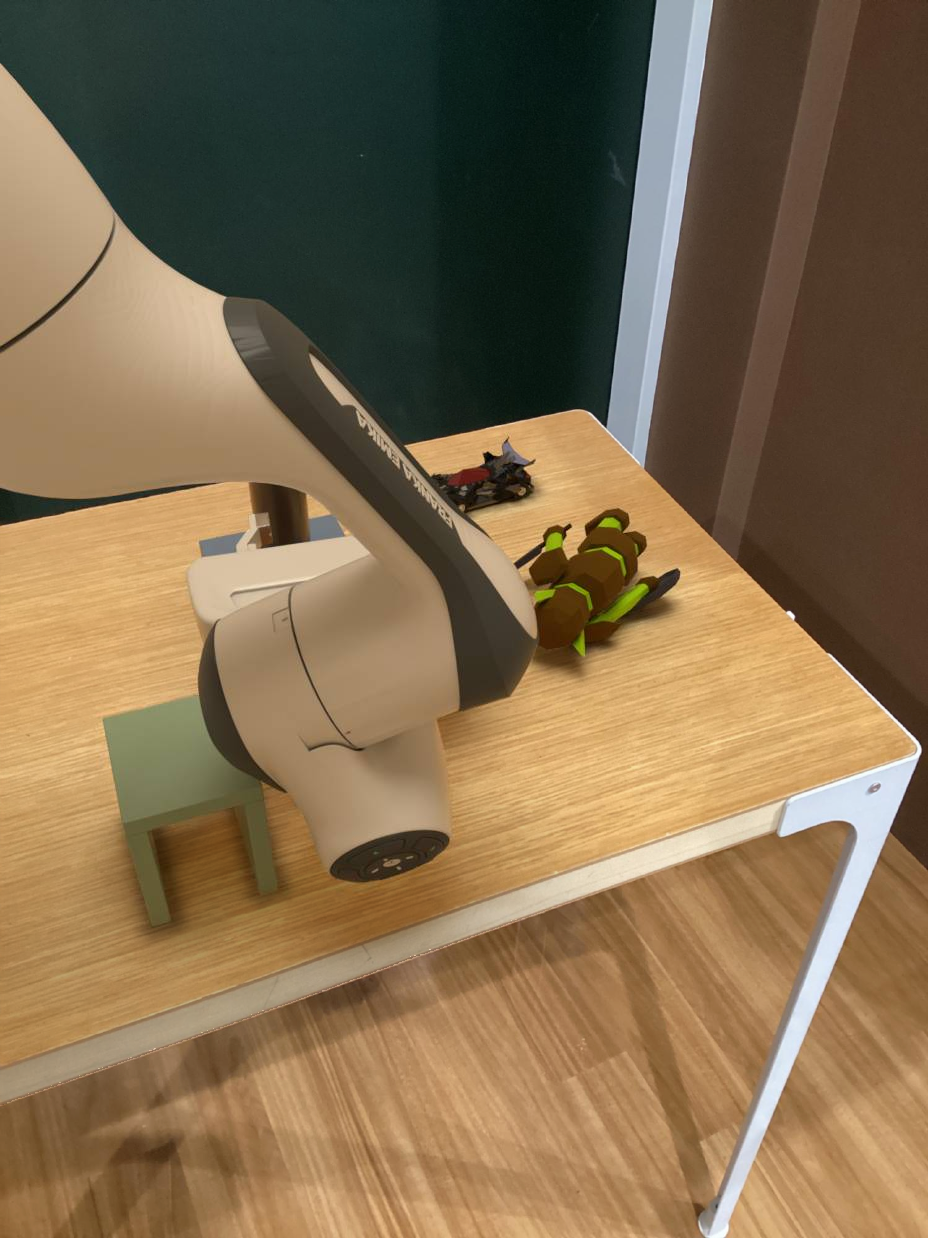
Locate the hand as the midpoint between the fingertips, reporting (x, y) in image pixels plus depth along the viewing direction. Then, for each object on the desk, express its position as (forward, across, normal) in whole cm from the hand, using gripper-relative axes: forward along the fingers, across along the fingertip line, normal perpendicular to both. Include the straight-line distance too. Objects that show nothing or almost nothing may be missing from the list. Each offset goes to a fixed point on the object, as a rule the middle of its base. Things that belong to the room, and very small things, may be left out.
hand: (323, 510), depth 79 cm
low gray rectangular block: (+4, +4, +14) cm, 15 cm away
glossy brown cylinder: (+5, +3, +10) cm, 11 cm away
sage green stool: (-21, +12, +10) cm, 26 cm away
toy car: (+17, -15, +17) cm, 28 cm away
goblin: (-2, -20, +14) cm, 24 cm away
